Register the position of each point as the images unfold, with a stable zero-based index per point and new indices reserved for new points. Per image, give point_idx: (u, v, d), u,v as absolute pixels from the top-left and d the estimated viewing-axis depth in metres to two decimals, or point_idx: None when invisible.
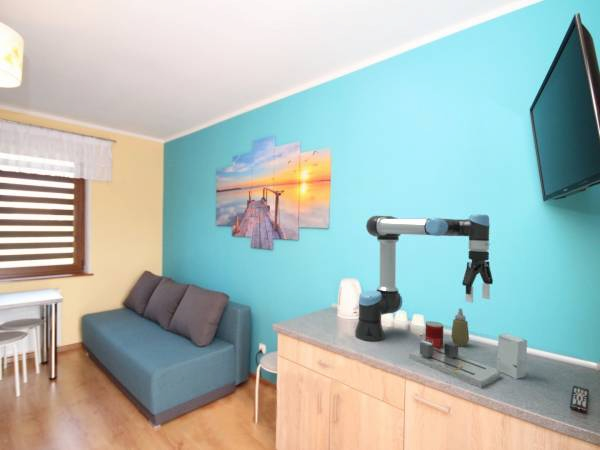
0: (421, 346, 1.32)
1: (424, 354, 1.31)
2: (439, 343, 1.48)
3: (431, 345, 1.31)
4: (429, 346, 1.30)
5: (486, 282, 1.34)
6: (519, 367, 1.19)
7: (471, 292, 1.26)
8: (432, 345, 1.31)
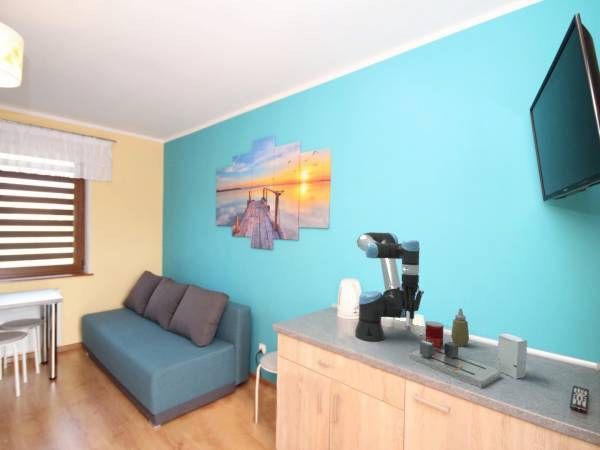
0: (421, 346, 1.32)
1: (424, 354, 1.31)
2: (439, 343, 1.48)
3: (431, 345, 1.31)
4: (429, 346, 1.30)
5: None
6: (519, 367, 1.19)
7: None
8: (432, 345, 1.31)
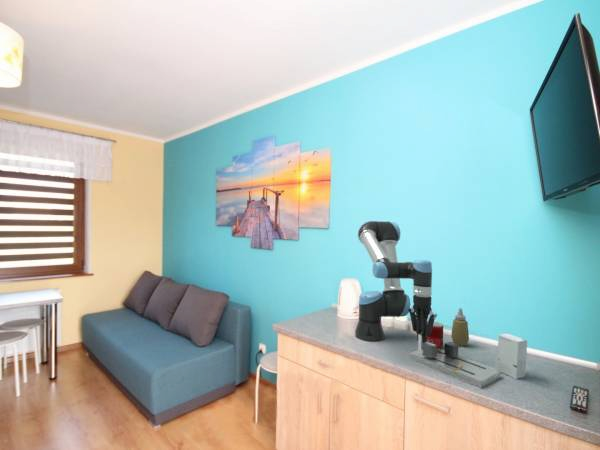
0: (424, 347, 1.31)
1: (427, 355, 1.30)
2: (439, 343, 1.48)
3: (434, 346, 1.30)
4: (432, 347, 1.29)
5: None
6: (519, 367, 1.19)
7: None
8: (435, 346, 1.30)
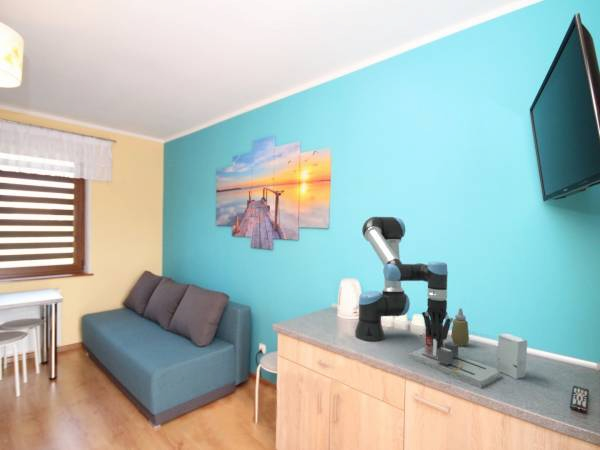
0: (440, 353, 1.25)
1: (443, 361, 1.24)
2: None
3: (450, 352, 1.24)
4: (448, 353, 1.23)
5: None
6: (519, 367, 1.19)
7: None
8: (451, 352, 1.24)
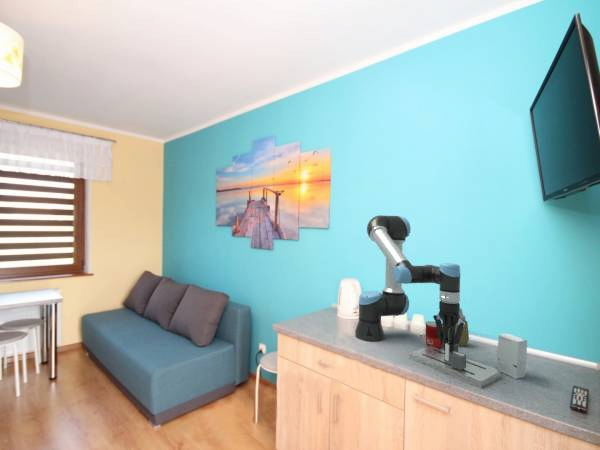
0: (452, 357, 1.21)
1: (456, 366, 1.20)
2: (439, 343, 1.48)
3: (463, 356, 1.20)
4: (462, 358, 1.19)
5: None
6: (519, 367, 1.19)
7: None
8: (464, 356, 1.20)
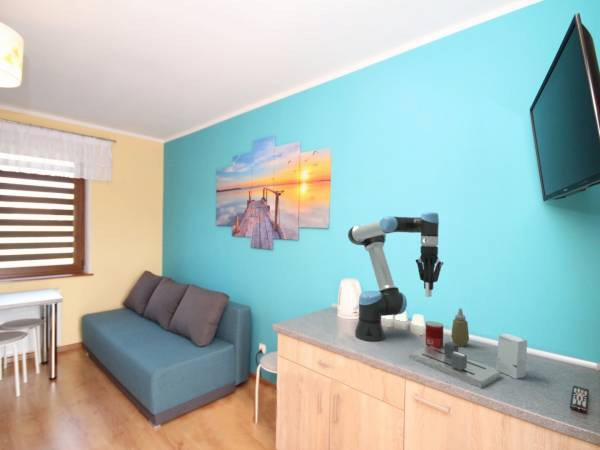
0: (453, 358, 1.21)
1: (456, 367, 1.19)
2: (439, 343, 1.48)
3: (464, 357, 1.19)
4: (462, 358, 1.19)
5: None
6: (519, 367, 1.19)
7: (425, 287, 1.42)
8: (465, 357, 1.20)
